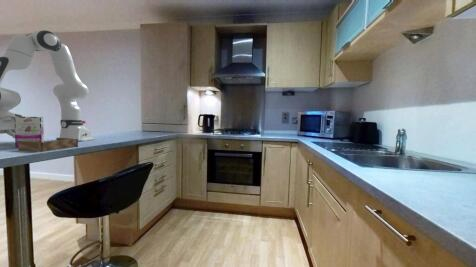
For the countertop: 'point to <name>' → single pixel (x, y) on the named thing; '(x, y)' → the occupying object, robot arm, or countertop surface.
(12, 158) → the countertop surface
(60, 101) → the robot arm
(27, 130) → the candy bar box
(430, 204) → the countertop surface
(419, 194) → the countertop surface
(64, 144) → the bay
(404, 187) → the countertop surface
